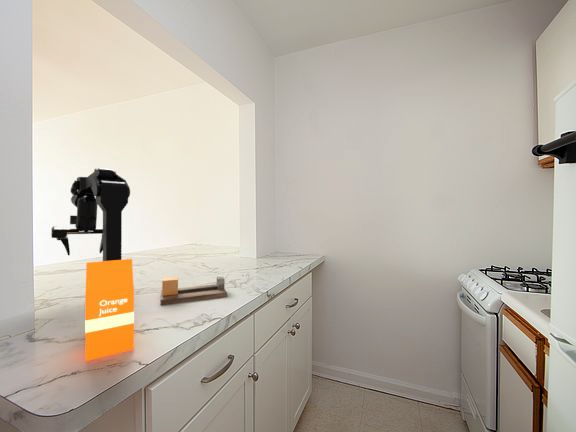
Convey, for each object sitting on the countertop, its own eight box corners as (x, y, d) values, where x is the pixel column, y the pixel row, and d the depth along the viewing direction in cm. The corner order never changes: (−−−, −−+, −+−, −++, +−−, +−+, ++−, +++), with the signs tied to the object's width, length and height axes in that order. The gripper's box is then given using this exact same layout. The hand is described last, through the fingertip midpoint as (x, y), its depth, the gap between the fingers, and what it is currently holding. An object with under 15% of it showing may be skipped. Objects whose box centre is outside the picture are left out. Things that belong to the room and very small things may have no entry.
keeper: (177, 294, 92) (178, 279, 92) (162, 295, 90) (162, 281, 90) (177, 290, 96) (177, 276, 96) (162, 292, 94) (162, 277, 94)
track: (226, 296, 96) (227, 281, 96) (160, 304, 87) (160, 288, 87) (220, 287, 107) (220, 274, 107) (160, 294, 97) (160, 279, 97)
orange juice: (87, 345, 60) (86, 259, 60) (131, 335, 66) (131, 256, 65) (85, 362, 54) (84, 265, 54) (134, 349, 59) (134, 261, 59)
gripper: (113, 209, 106) (111, 245, 108) (51, 207, 93) (50, 248, 96) (119, 215, 98) (116, 254, 100) (52, 213, 85) (50, 259, 88)
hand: (85, 253), depth 96 cm, fingers open, 9 cm apart
